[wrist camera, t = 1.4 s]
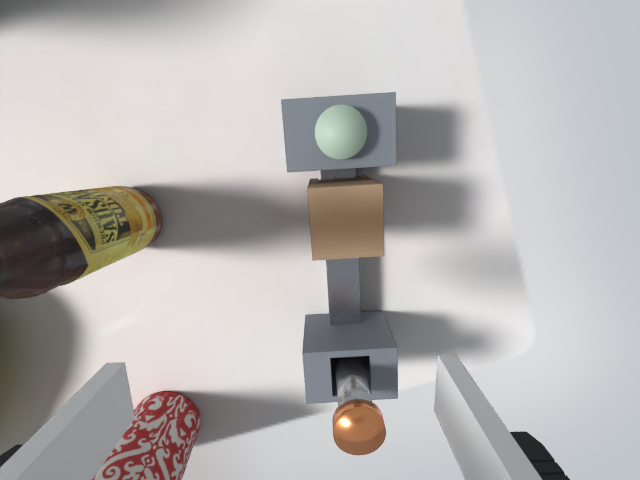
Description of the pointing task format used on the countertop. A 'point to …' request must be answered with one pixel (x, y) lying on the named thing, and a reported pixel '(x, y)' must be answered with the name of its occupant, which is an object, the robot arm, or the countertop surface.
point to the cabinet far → (349, 355)
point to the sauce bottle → (70, 236)
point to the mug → (155, 441)
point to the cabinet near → (340, 132)
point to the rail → (343, 275)
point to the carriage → (346, 218)
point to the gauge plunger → (356, 410)
